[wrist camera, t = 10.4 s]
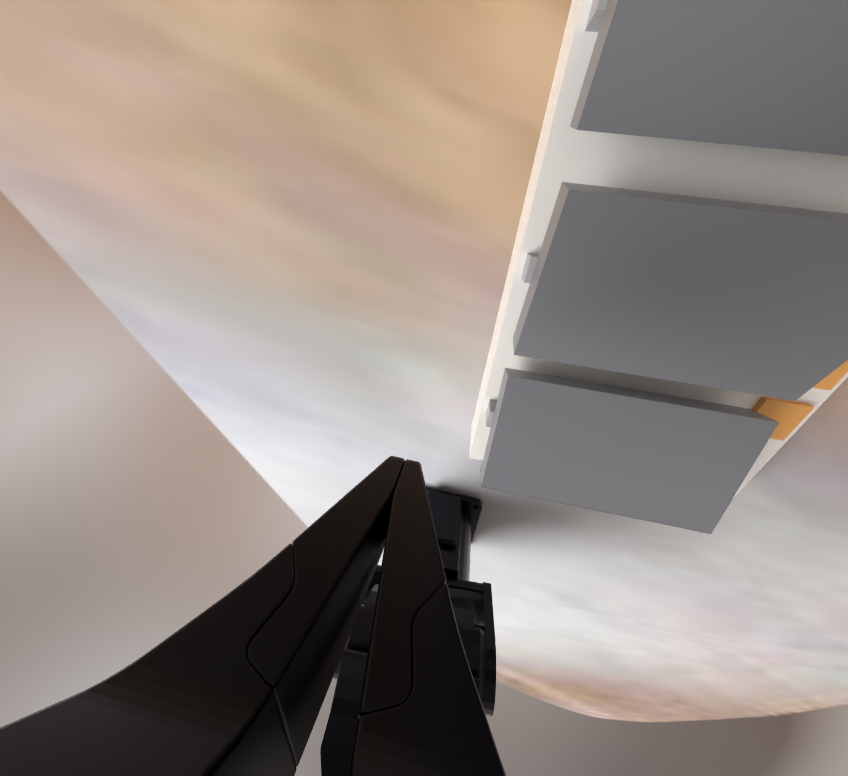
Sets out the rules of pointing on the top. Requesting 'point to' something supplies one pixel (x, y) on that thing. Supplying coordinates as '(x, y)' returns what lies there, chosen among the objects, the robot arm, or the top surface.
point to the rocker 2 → (690, 290)
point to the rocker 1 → (721, 73)
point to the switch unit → (655, 172)
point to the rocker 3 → (620, 449)
